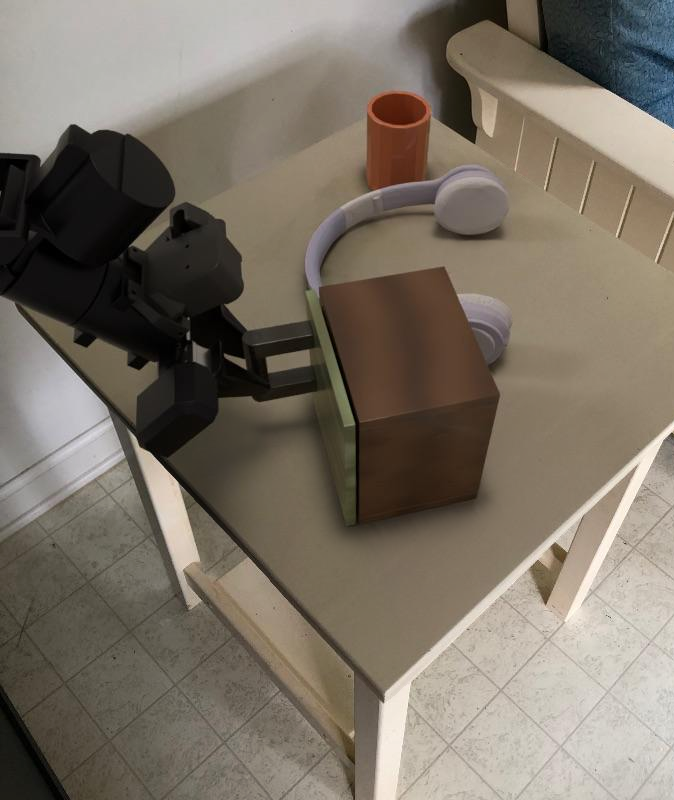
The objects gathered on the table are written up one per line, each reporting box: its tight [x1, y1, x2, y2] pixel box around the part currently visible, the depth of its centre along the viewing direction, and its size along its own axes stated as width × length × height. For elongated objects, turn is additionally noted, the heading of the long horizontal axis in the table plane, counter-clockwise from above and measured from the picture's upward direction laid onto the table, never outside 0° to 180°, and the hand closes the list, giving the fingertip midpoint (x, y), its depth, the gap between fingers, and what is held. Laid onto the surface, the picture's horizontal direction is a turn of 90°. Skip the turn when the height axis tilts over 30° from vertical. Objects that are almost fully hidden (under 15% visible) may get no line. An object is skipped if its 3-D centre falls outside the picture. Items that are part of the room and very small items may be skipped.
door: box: [242, 289, 357, 527], centre depth 64 cm, size 6×13×14 cm, turn 15°
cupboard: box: [319, 266, 501, 525], centre depth 65 cm, size 10×13×14 cm
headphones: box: [304, 164, 513, 366], centre depth 80 cm, size 22×7×20 cm
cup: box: [365, 90, 432, 192], centre depth 89 cm, size 7×7×9 cm
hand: (265, 373), depth 65 cm, fingers open, 3 cm apart
